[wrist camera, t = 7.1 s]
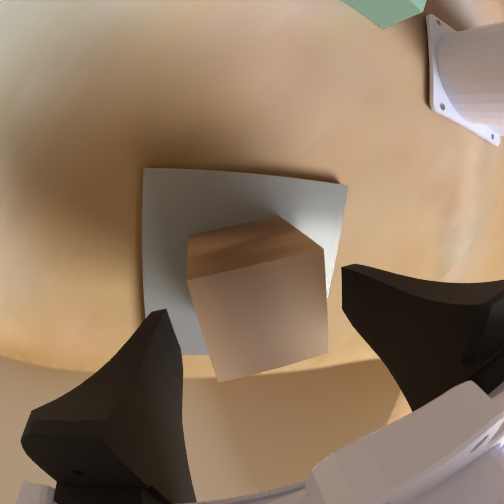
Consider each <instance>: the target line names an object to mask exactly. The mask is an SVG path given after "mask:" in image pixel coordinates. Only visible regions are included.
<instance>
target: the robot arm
mask: <svg viewBox="0 0 504 504" xmlns="http://www.w3.org/2000/svg"><path fill="white" fill-rule="evenodd" d="M426 22H427V33H428V46H429V67H430V107H431V109H432V110H433V111H434V112H436V113H438V114H440V115H442V116H444V117H446V118H448V119H450V120H452V121H454V122H456V123H458V124H460V125H461V126H463V127H465V128H467V129H468V130H470V131H472V132H474V133H475V134H477V135H479V136H480V137H482V138H484V139H485V140H487V141H488V142H490V143H492V144H493V145H495V146H499V144H500V135H502V136H504V22H501V23H495V24H490V25H484V26H480V27H475V28H470V29H466V30H462V31H458V32H457V31H456V30H454V29H453V28H452V27H450V26H449V25H447V24H446V23H444V22H443V21H442V20H440V19H439V18H437V17H436V16H434V15H432V14H428V15H427V16H426ZM440 106H441V107H440ZM341 270H342V309H343V311H344V313H345V314H346V316H347V318H348V319H349V321H350V322H351V324H352V326H353V327H354V328H355V329H356V330H357V332H358V333H359V334H360V335H361V336H362V338H363V339H364V340H365V341H366V342H367V343H368V344H369V346H370V347H371V348H372V349H373V350H374V351H375V353H376V354H377V355H378V356H379V357H380V358H381V360H382V361H383V362H384V364H385V365H386V366H387V368H388V369H389V371H390V372H391V374H392V376H393V377H394V379H395V380H396V382H397V384H398V385H399V387H400V389H401V391H402V392H403V394H404V396H405V398H406V400H407V402H408V404H409V405H410V407H411V409H412V411H413V412H412V413H410V414H408V415H406V416H404V417H403V418H401V419H399V420H397V421H395V422H393V423H391V424H389V425H387V426H385V427H383V428H381V429H379V430H376V431H374V432H372V433H370V434H368V435H365V436H363V437H361V438H358V439H357V440H355V441H353V442H351V443H349V444H347V445H345V446H343V447H341V448H339V449H338V450H335V451H334V452H332V453H331V454H330V455H328V456H327V457H326V458H324V459H323V460H322V461H320V462H319V463H318V464H316V465H315V466H314V468H313V469H312V471H311V473H310V474H309V476H308V478H307V480H305V481H302V482H298V483H295V484H291V485H288V486H284V487H281V488H276V489H273V490H268V491H264V492H259V493H255V494H250V495H245V496H239V497H234V498H228V499H221V500H214V501H205V502H197V501H196V497H195V494H194V489H193V485H192V480H191V476H190V471H189V466H188V460H187V454H186V449H185V441H184V433H183V425H182V391H183V364H182V354H181V348H180V345H179V343H178V340H177V337H176V334H175V332H174V329H173V326H172V323H171V320H170V318H169V315H168V312H167V309H162V310H157V311H152V312H151V313H150V314H149V315H148V316H147V317H146V319H145V320H144V321H143V322H142V324H141V325H140V326H139V328H138V329H137V330H136V331H135V333H134V334H133V335H132V336H131V338H130V339H129V340H128V341H127V342H126V343H125V344H124V346H123V347H122V348H121V349H120V350H119V351H118V352H117V353H116V355H115V356H114V357H113V358H112V359H111V360H110V361H109V362H107V363H106V364H105V365H104V366H103V367H102V368H101V369H100V370H99V371H97V372H96V373H95V374H94V375H92V376H91V377H90V378H88V379H87V380H86V381H84V382H83V383H82V384H80V385H79V386H78V387H76V388H74V389H73V390H71V391H70V392H68V393H66V394H65V395H63V396H61V397H59V398H58V399H56V400H54V401H52V402H50V403H47V404H45V405H43V406H41V407H39V408H37V409H34V410H32V411H31V414H30V416H29V419H28V421H27V424H26V427H25V429H24V432H23V435H22V438H21V444H22V447H23V449H24V450H25V452H26V454H27V455H28V456H29V457H30V458H31V459H32V460H33V461H34V462H35V463H36V464H37V465H38V466H39V467H40V468H41V469H43V470H44V471H45V472H46V473H47V474H48V475H50V476H51V477H52V478H53V479H55V480H56V481H57V485H56V489H54V488H52V487H50V486H47V485H44V484H39V483H34V482H30V481H26V480H23V481H22V482H21V486H20V490H19V495H18V499H17V504H504V280H499V281H492V282H484V283H445V282H436V281H428V280H422V279H417V278H412V277H407V276H403V275H399V274H395V273H391V272H387V271H384V270H380V269H376V268H372V267H368V266H364V265H359V264H352V265H348V266H344V267H341Z"/></svg>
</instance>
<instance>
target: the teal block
mask: <svg viewBox="0 0 504 504" xmlns="http://www.w3.org/2000/svg"><path fill="white" fill-rule="evenodd" d="M341 1H343V2H344V3H346V4H347V5H349V6H350V7H352V8H353V9H355V10H356V11H358V12H359V13H360V14H362V15H363V16H365V17H366V18H367V19H369V20H370V21H371V22H373V23H374V24H375V25H377V26H378V27H379V28H380V29H382V30H383V29H385V28H388V27H390V26H392V25H394V24H396V23H399V22H401V21H403V20H405V19H408V18H410V17H412V16H415V15H417V14H420V13H422V12H423V10H424V7H425V4H426V1H427V0H341Z"/></svg>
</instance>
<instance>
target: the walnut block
mask: <svg viewBox="0 0 504 504" xmlns="http://www.w3.org/2000/svg"><path fill="white" fill-rule="evenodd" d="M187 283H188V287H189V291H190V294H191V298H192V301H193V305H194V308H195V311H196V315H197V318H198V321H199V325H200V328H201V331H202V334H203V338H204V341H205V344H206V347H207V350H208V353H209V356H210V359H211V362H212V365H213V368H214V371H215V374H216V377H217V380H218V382H222V381H227V380H232V379H236V378H240V377H245V376H249V375H253V374H257V373H260V372H264V371H268V370H272V369H275V368H279V367H283V366H286V365H290V364H293V363H296V362H300V361H303V360H306V359H309V358H313V357H316V356H319V355H322V354H325V353H328V321H327V293H326V274H325V258H324V248H322V247H321V246H320V245H318V244H317V243H316V242H314V241H313V240H312V239H310V238H309V237H308V236H306V235H305V234H304V233H302V232H301V231H300V230H298V229H297V228H295V227H294V226H293V225H291V224H290V223H289V222H287V221H286V220H284V219H283V218H282V217H280V216H279V217H274V218H269V219H264V220H259V221H254V222H250V223H245V224H240V225H235V226H231V227H226V228H221V229H217V230H212V231H208V232H203V233H198V234H194V235H190V236H187Z"/></svg>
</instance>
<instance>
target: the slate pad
mask: <svg viewBox="0 0 504 504" xmlns="http://www.w3.org/2000/svg"><path fill="white" fill-rule="evenodd" d="M347 188H348V186H347V185H343V184H339V183H332V182H325V181H317V180H310V179H302V178H294V177H285V176H276V175H266V174H255V173H244V172H231V171H217V170H200V169H178V168H144V170H143V192H142V268H143V290H144V306H145V319H146V317H147V316H148V315H149V314H150V313H151V312H152V311H157V310H162V309H167V312H168V315H169V318H170V320H171V323H172V326H173V329H174V332H175V334H176V337H177V340H178V343H179V345H180V348H181V354H182V355H209V353H208V350H207V347H206V344H205V341H204V338H203V334H202V331H201V328H200V325H199V321H198V318H197V315H196V311H195V308H194V305H193V301H192V298H191V294H190V291H189V287H188V283H187V236H190V235H194V234H198V233H203V232H208V231H212V230H217V229H221V228H226V227H231V226H235V225H240V224H245V223H250V222H254V221H259V220H264V219H269V218H274V217H279V216H280V217H282V218H283V219H284V220H286V221H287V222H289V223H290V224H291V225H293V226H294V227H295V228H297V229H298V230H300V231H301V232H302V233H304V234H305V235H306V236H308V237H309V238H310V239H312V240H313V241H314V242H316V243H317V244H318V245H320V246H321V247H322V248H324V258H325V274H326V293H327V298H328V293H329V289H330V284H331V279H332V274H333V270H334V265H335V259H336V254H337V249H338V244H339V238H340V232H341V227H342V221H343V215H344V208H345V202H346V195H347Z"/></svg>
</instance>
